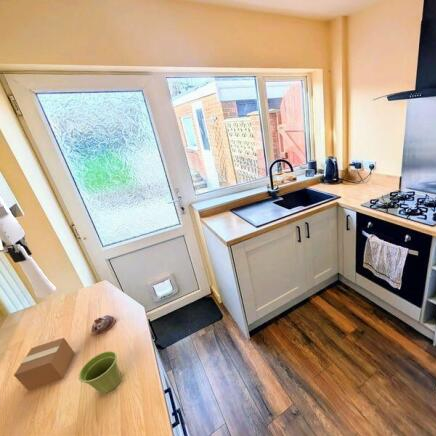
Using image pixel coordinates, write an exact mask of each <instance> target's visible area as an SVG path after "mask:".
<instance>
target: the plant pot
mask: <svg viewBox="0 0 436 436" xmlns="http://www.w3.org/2000/svg"><path fill="white" fill-rule="evenodd" d="M117 358H118V356H117V353H116V352H115V351H112V350H107V351H106V350H105V351H103V352H101V353H99V354H97V355H95V356H94V357H92V358H90V359H89V360H88V361H87V362H86V363H85V364H84V365H83V366H82V368H81V369H80V371H79V373H78V377H77V378H78V381H80V382H81V383H84V384H88V385H89V386H91V388H93V389H94V390H95V391H96V392H98V393H99V394H102V395H104V394H107V393H109V392H111V391H113V390H115V389H116V388H117V387H118V385H119V384H120V382H121V381H122V375H121V371H120V368H119V365H118V362H117Z"/></svg>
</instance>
